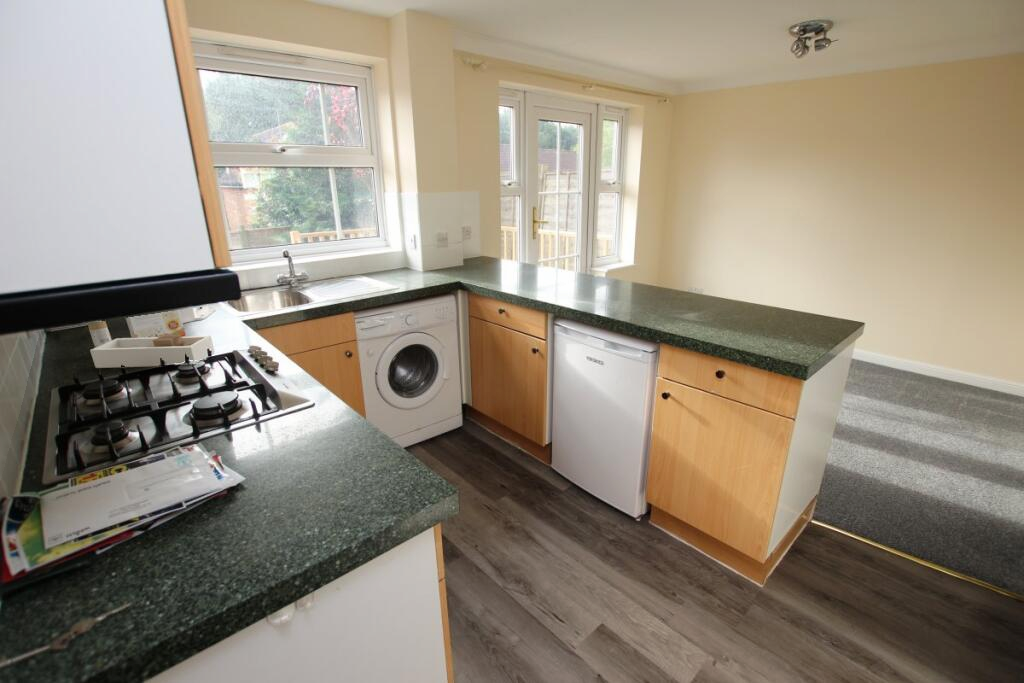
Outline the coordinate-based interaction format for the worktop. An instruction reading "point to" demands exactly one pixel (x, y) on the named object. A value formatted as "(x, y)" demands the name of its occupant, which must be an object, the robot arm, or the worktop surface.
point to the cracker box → (156, 325)
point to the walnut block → (168, 341)
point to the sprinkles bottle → (99, 333)
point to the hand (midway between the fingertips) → (124, 285)
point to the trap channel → (148, 352)
